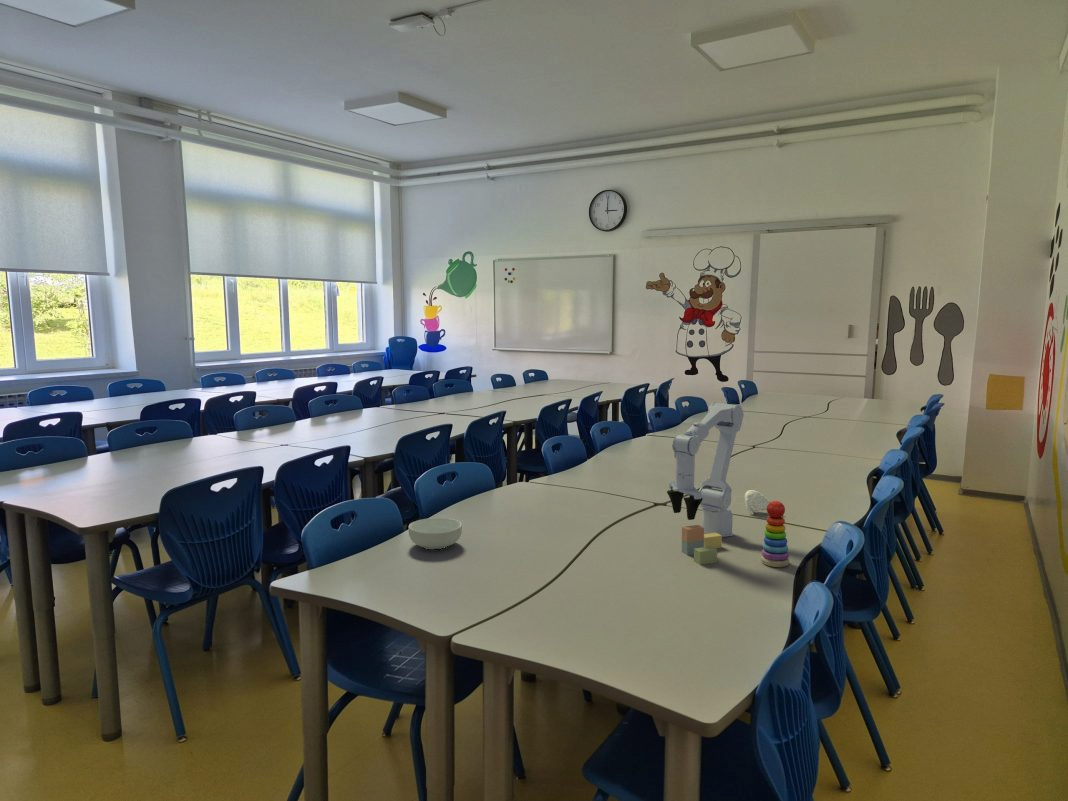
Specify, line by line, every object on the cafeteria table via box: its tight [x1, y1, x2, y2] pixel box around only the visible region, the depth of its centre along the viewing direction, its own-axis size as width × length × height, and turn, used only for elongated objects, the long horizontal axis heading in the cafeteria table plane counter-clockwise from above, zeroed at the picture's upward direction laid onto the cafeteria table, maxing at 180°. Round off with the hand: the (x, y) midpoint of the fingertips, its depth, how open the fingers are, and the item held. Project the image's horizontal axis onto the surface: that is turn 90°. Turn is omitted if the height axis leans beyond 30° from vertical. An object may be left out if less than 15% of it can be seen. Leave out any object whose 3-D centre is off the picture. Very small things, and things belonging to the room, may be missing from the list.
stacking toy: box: [760, 500, 790, 568], centre depth 194 cm, size 8×8×19 cm
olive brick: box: [693, 546, 718, 566], centre depth 197 cm, size 6×3×4 cm, turn 111°
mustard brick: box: [704, 533, 723, 549], centre depth 209 cm, size 6×3×4 cm, turn 111°
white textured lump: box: [744, 489, 772, 516], centre depth 244 cm, size 6×8×12 cm
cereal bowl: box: [408, 517, 463, 550], centre depth 211 cm, size 17×17×7 cm
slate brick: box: [681, 539, 704, 556], centre depth 205 cm, size 6×3×4 cm, turn 111°
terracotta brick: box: [681, 524, 704, 542], centre depth 204 cm, size 6×3×4 cm, turn 110°
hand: (683, 515), depth 207 cm, fingers open, 7 cm apart
